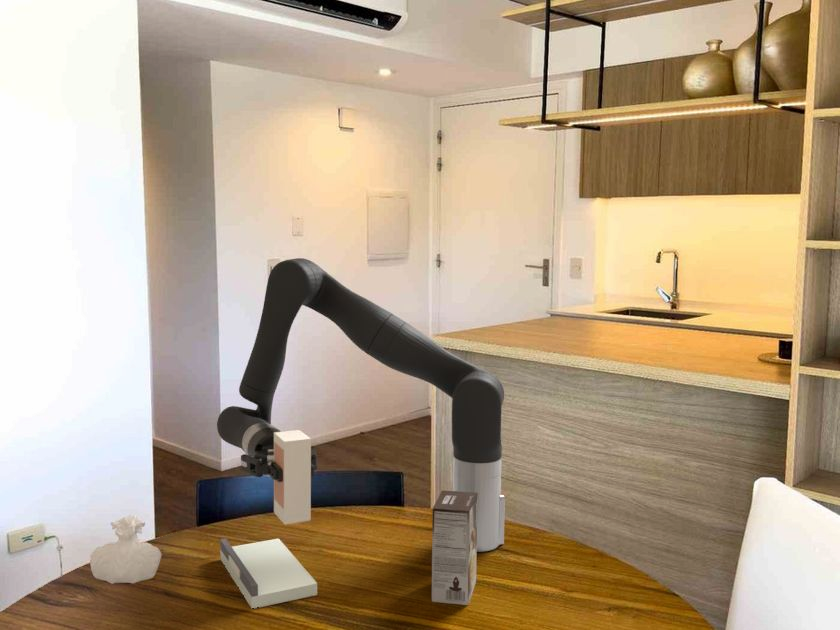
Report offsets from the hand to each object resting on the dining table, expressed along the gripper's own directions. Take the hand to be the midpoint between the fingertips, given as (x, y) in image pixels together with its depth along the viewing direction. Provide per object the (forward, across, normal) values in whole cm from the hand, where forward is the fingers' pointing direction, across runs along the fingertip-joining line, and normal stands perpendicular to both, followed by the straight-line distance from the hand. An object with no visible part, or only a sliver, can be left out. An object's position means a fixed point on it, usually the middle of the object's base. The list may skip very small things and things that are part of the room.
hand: (296, 474), depth 130 cm
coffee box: (+12, +24, +20) cm, 33 cm away
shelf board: (-7, -3, +20) cm, 21 cm away
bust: (-17, -25, +20) cm, 36 cm away
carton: (-2, 0, +8) cm, 8 cm away
